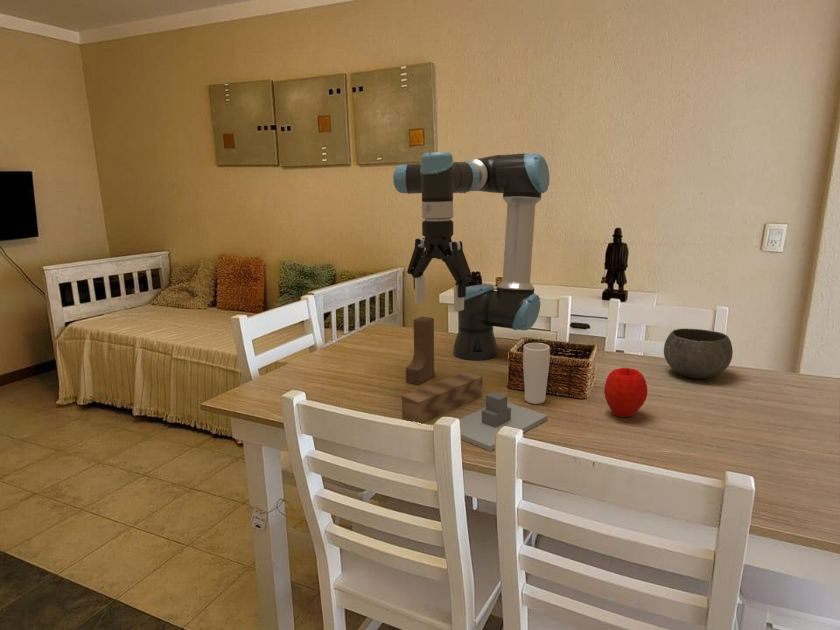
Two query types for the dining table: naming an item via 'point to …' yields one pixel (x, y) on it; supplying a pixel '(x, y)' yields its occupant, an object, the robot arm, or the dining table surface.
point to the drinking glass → (535, 371)
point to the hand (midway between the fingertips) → (438, 306)
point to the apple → (625, 391)
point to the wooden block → (422, 351)
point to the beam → (441, 397)
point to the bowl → (698, 352)
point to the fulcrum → (497, 420)
